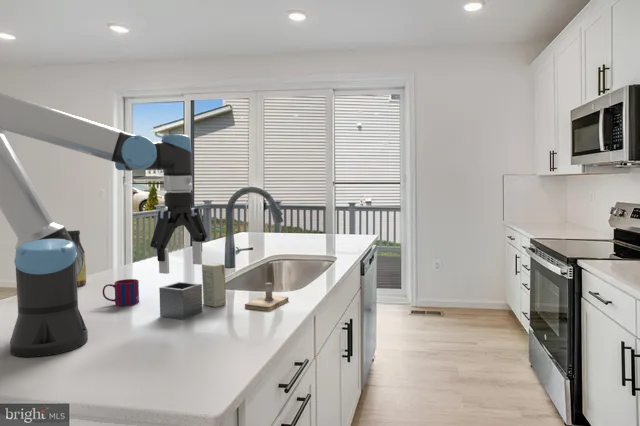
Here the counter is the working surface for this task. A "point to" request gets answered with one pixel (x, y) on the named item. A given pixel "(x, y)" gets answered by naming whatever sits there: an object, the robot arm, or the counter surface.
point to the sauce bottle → (76, 239)
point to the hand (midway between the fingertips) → (181, 268)
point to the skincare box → (214, 284)
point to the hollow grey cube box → (180, 300)
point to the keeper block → (267, 300)
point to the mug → (125, 292)
